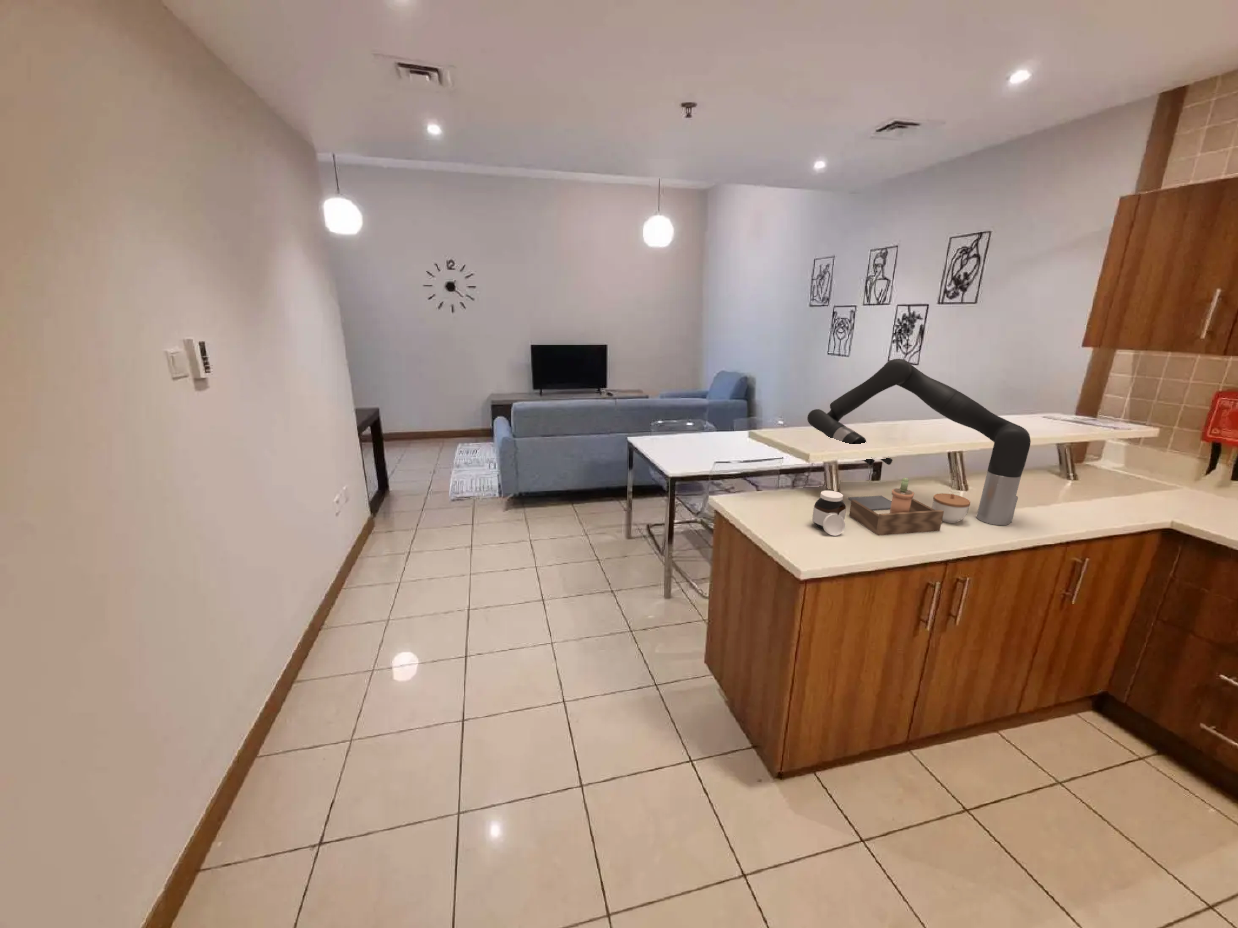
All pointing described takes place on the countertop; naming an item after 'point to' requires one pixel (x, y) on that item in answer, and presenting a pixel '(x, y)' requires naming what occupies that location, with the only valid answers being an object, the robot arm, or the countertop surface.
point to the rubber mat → (873, 502)
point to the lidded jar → (951, 506)
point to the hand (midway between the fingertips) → (882, 462)
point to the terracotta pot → (901, 498)
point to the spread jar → (830, 512)
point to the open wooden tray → (898, 519)
